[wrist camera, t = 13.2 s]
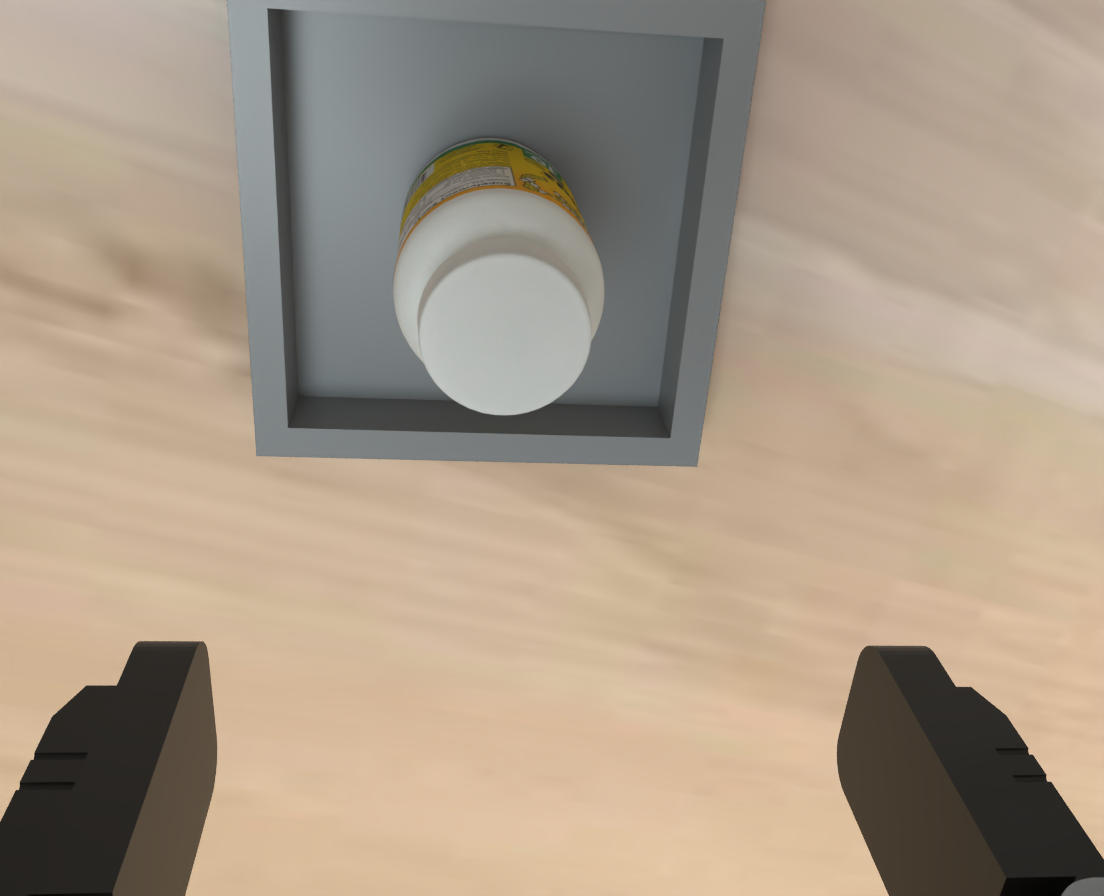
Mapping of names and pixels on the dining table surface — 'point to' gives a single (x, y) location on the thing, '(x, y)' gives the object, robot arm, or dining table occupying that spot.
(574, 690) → the dining table surface
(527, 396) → the supplement bottle
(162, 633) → the dining table surface
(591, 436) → the tray
